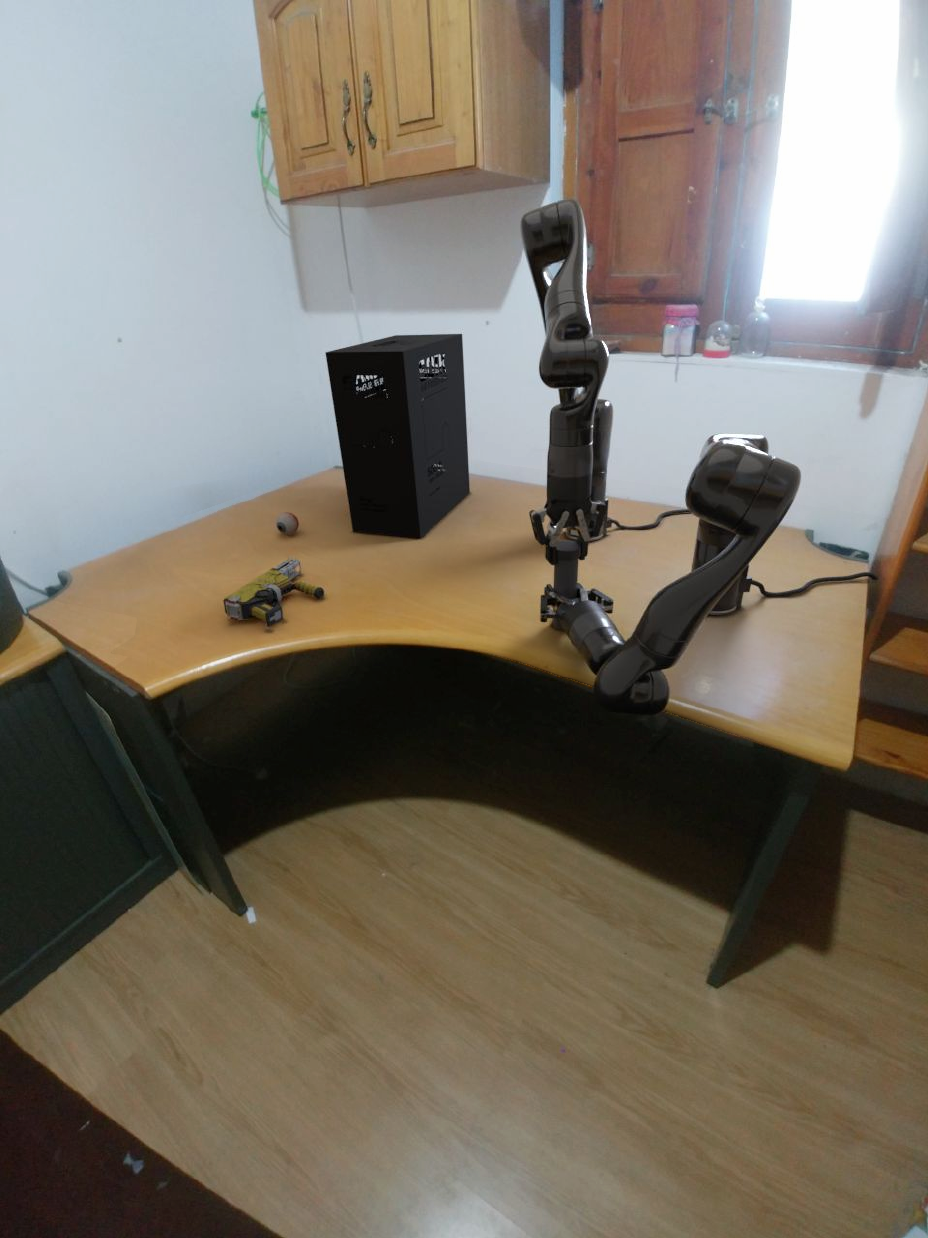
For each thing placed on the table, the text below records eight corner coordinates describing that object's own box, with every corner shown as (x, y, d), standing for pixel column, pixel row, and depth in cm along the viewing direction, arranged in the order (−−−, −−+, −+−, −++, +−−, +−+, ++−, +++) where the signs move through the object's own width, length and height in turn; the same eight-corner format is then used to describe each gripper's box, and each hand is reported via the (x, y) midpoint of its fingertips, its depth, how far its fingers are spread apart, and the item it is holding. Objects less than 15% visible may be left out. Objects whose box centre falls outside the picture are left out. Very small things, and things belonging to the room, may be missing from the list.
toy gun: (343, 567, 137) (286, 555, 141) (282, 613, 117) (218, 598, 121) (344, 585, 139) (288, 574, 143) (284, 634, 119) (221, 619, 123)
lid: (556, 547, 112) (556, 538, 111) (583, 550, 110) (583, 541, 109) (549, 558, 108) (549, 549, 107) (577, 561, 106) (577, 552, 105)
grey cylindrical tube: (555, 617, 119) (558, 542, 111) (577, 620, 117) (581, 544, 109) (550, 628, 115) (551, 551, 107) (572, 631, 114) (575, 553, 106)
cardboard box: (410, 488, 194) (395, 335, 172) (469, 492, 188) (462, 333, 165) (352, 531, 164) (325, 352, 142) (420, 538, 158) (403, 351, 135)
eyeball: (273, 537, 164) (268, 516, 161) (287, 528, 169) (282, 508, 166) (291, 539, 161) (286, 518, 158) (305, 530, 166) (301, 510, 163)
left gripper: (598, 458, 106) (593, 547, 114) (521, 468, 103) (521, 559, 111) (619, 469, 100) (611, 563, 108) (537, 480, 97) (536, 575, 105)
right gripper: (634, 606, 100) (597, 564, 114) (550, 617, 98) (524, 573, 113) (630, 644, 104) (595, 599, 118) (549, 656, 102) (524, 608, 116)
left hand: (566, 560), depth 110 cm, fingers closed on lid, 5 cm apart
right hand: (560, 586), depth 115 cm, fingers closed on grey cylindrical tube, 4 cm apart
